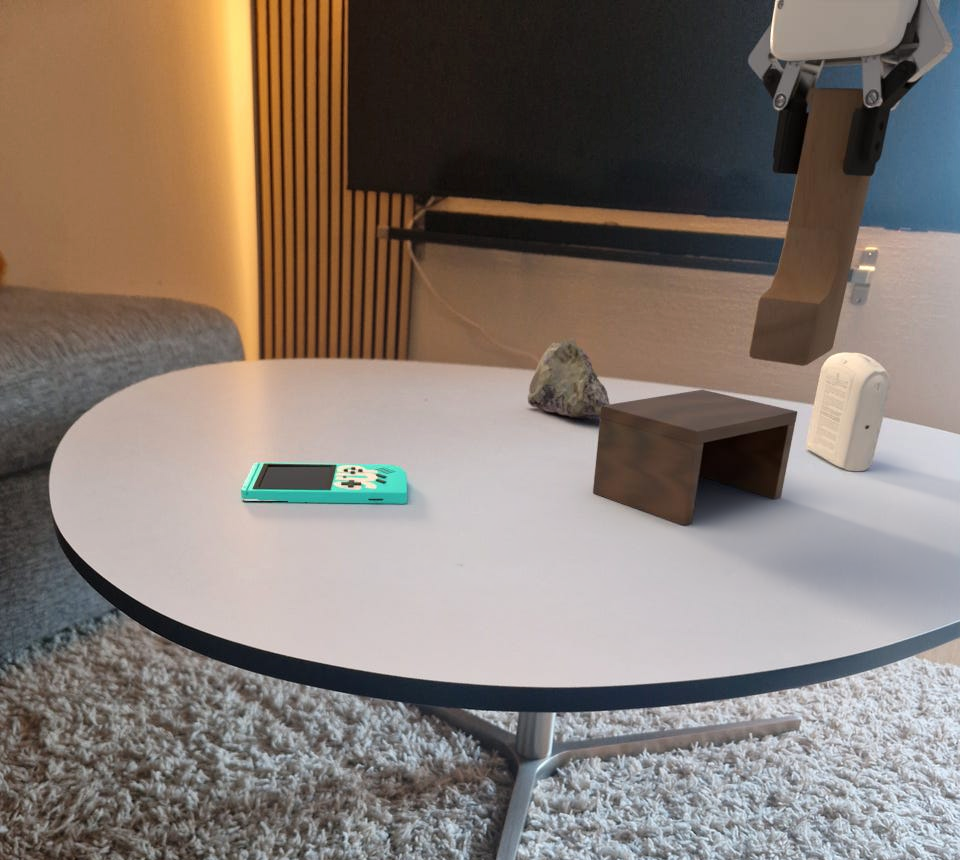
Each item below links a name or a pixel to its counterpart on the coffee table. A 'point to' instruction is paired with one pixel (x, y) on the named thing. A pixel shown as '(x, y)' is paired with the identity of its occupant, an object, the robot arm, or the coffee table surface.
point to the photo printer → (848, 410)
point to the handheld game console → (326, 483)
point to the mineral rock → (567, 383)
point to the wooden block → (814, 240)
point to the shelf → (689, 450)
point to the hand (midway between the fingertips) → (822, 171)
